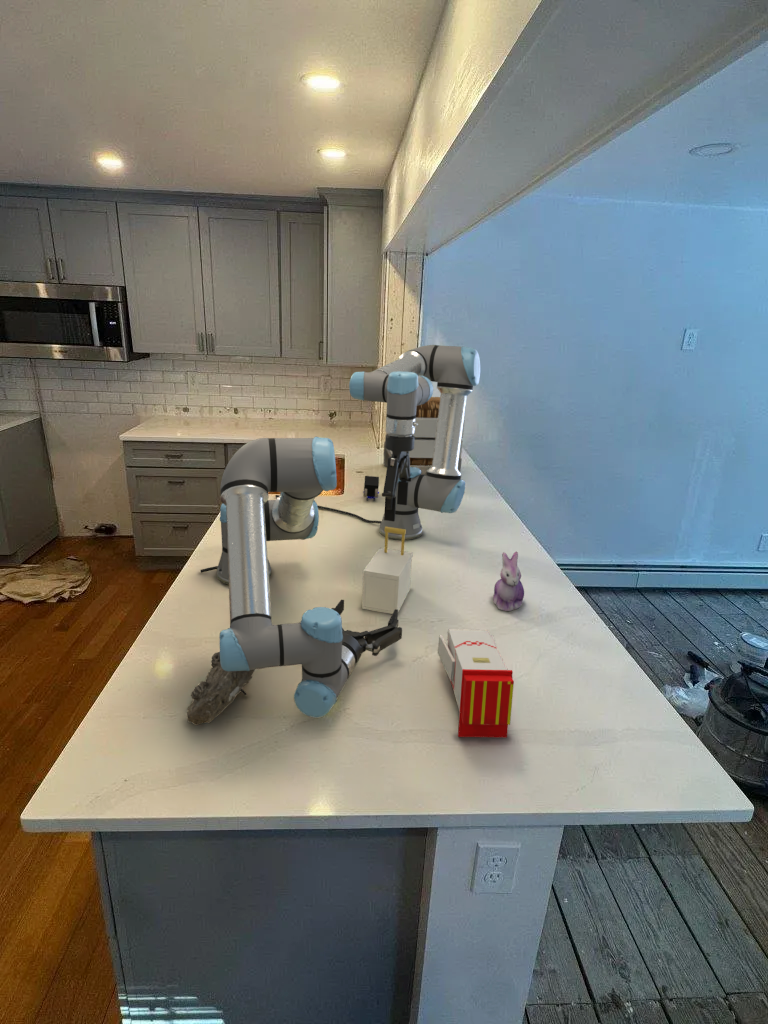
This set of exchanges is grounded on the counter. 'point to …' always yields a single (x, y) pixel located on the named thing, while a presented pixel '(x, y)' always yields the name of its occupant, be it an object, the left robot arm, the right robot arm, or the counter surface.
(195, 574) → the counter surface
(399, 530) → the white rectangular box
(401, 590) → the chest
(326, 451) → the left robot arm
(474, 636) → the toy
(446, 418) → the right robot arm
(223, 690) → the fossil
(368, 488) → the figurine character
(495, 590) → the figurine
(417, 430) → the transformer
